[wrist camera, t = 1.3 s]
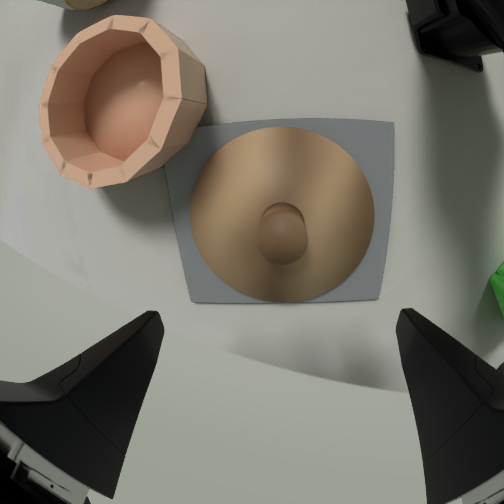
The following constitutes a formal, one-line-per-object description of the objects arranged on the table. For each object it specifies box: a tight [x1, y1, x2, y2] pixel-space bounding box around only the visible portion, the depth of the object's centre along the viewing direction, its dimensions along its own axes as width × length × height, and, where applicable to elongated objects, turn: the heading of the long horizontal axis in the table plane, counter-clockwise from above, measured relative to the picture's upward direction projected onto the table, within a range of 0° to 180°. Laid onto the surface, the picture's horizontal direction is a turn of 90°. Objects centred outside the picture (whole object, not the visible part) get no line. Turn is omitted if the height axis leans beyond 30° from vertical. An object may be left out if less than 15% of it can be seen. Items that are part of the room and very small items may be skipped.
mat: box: [164, 118, 394, 303], centre depth 19 cm, size 16×14×1 cm
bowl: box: [39, 15, 208, 189], centre depth 14 cm, size 11×11×5 cm
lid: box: [190, 127, 375, 302], centre depth 17 cm, size 13×13×4 cm
